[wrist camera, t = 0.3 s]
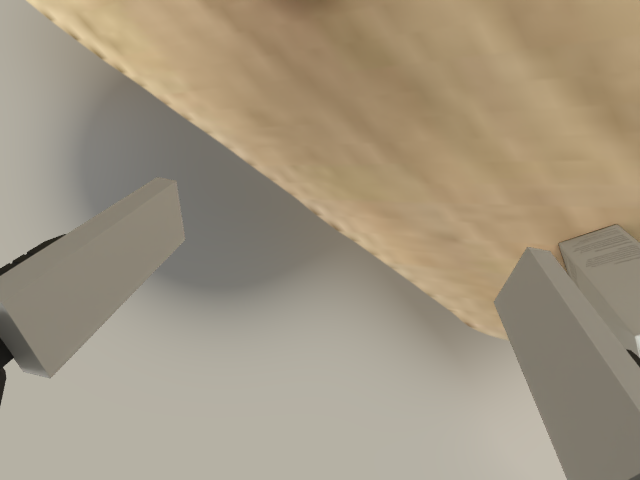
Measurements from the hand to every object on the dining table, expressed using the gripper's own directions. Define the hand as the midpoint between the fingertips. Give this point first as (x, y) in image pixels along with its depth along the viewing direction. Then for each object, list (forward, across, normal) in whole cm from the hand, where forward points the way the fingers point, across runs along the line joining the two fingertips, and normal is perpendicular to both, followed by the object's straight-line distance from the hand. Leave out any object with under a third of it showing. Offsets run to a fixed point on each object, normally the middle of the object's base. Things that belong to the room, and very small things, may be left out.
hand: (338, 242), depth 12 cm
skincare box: (+28, +31, -13) cm, 44 cm away
